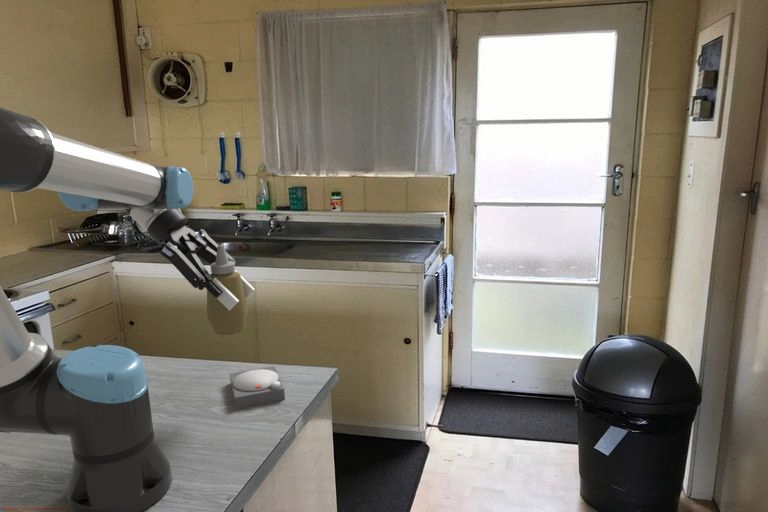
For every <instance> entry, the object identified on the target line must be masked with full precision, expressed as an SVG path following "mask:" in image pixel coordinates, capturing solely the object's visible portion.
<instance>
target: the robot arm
mask: <svg viewBox="0 0 768 512" xmlns="http://www.w3.org/2000/svg"><path fill="white" fill-rule="evenodd" d="M190 173H191V172H189V171H188V169H186V168H185V167H182V166H172V165H168V166H160V165H159V166H158V165H157V164H156V165H155V164H152V163H147V162H144V161H141V160H138V159H136V158H132V157H129V156H126V155H123V154H122V153H117V152H113V151H110V150H107V149H104V148H100V147H98V146H94V145H91V144H88V143H85V142H82V141H78V140H76V139H72V138H69V137H66V136H63V135H60V134H57V133H54V132H51V131H49V129H48V128H47V126H45V124H43V123H42V122H41V121H39V120H38V119H35V118H33V117H31V116H27V115H25V114H22V113H19V112H16V111H13V110H10V109H7V108H5V107H0V191H5V192H10V193H18V194H19V193H21V194H23V193H28V192H31V191H34V190H35V189H41V190H47V191H53V192H54V191H55V192H58V197H59V200H60V201H61V203H62V204H63V205H64V206H65V207H66V208H67V209H70V210H71V211H74V212H92V211H94V210H124V211H125V212H126V213H127V214H128V215H129V216H130V217H132V219H133V220H134V221H135V222H136V223H137V224H138V225H139V226H140V227H141V228H142V229H143V230H147V231H146V232H147V234H148V235H149V237H151V238H152V239H153V240H154V241H155V242H156V243H157V244H159V245H165V246H164V247H163V248H162V249H161V250H160V252H159V253H160V255H161V256H162V257H164V258H165V259H167V260H168V261H169V262H170V263H171V264H172V265H173V266H174V267H175V269H176V270H178V271H179V273H180V274H181V275H182V276H183V277H184V279H186V281H187V282H189V284H190V285H191V286H192V287H193V288H194V289H198V290H199V291H203V290H204V289H206V291H207V290H208V291H209V292H210V293H211V294H212V295H213V296H214V297H216V298H217V299H218V300H219V301H220V302H221V303H222V304H223V305H224V306H225V307H226V308H227V309H228V310H229V311H230V310H231V309H232V308H233V307H234V306H235V305H236V304H237V303H238V302H239V300H238V299H237V298H236V297H235V296H234V295H233V294H232V293H231V292H230V291H229V290H228V289H227V288H226V287H225V286H224V285H223V284H222V283H221V282H220V281H219V280H218V279H217V278H216V277H215V278H214V279H213V280H212V277H211V276H210V274H211V273H209V271H208V270H207V268H206V267H205V265H204V263H202V260H204V261H205V262H207V263H208V264H210V265H211V264H212V263H214V262H216V255H217V247H218V246H220V244H218V243H217V242H216V241H215V240H214V239H212V238H211V237H210V235H208V233H207V232H206V231H205V230H204V229H202V228H200V230H198V231H194V229H192V228H190V227H189V226H188V218H187V216H186V215H185V214H184V213H182V211H181V210H179V209H184V208H187V207H188V206H189V205H190V204H191V203H192V201H193V197H194V182H193V178H192V176H191V174H190ZM226 254H227V257H228V260H229V261H232V262H234V263H235V265H236V264H237V263H236V260H235V258H234V257H232V256H231V255H230V254H229V253H228V252H227V251H226ZM200 258H201V259H202V260H201V259H200ZM235 271H236V272H238V270H236V269H235ZM240 276H241V281H242V286H243V291H244V296H245V299H247V298H249V296H251V294H252V293H253V292H254V291H255V290H256V289H255V288H254V287H253V285H252V284H251V283H250V282H249V281H247V280H246V278H244V277H243V276H242V274H240ZM149 393H150V392H149V378H148V376H147V374H146V369H145V365H144V361H143V360H142V357H141V356H140V355H139V353H137V352H135V351H134V350H132V349H131V348H127V347H125V346H119V345H112V344H99V345H97V346H85V347H81V348H78V349H75V350H72V351H70V352H68V353H67V354H65V355H64V356H62V357H59V356H57V355H56V354H55V353H54V351H53V350H52V348H51V346H50V345H49V343H48V341H47V339H46V338H45V337H44V336H42V335H41V334H39V333H34V332H29V331H28V330H27V328H26V327H25V324H24V323H23V321H22V320H21V318H20V316H19V314H18V313H17V312H16V309H15V308H14V307H13V305H12V303H11V301H10V300H9V298H8V296H7V295H6V293H5V290H3V288H2V286H1V285H0V433H8V434H10V433H25V434H42V435H55V436H56V435H57V436H68V437H69V439H70V444H71V449H72V456H73V461H72V466H71V470H70V471H71V472H70V477H69V482H68V486H67V493H66V494H67V495H66V497H67V498H66V499H67V502H68V507H69V511H70V512H142V511H144V510H146V509H148V508H150V507H151V506H153V505H154V504H156V503H157V502H158V501H159V500H161V499H162V498H163V497H164V496H165V495H166V493H167V492H168V490H170V487H171V484H172V481H173V477H172V476H173V475H172V469H171V468H172V467H171V464H170V461H169V459H168V458H167V455H166V454H165V452H164V450H163V449H162V448H161V446H160V444H159V442H158V441H157V439H156V437H155V432H154V431H155V430H154V423H153V416H152V415H153V414H152V407H151V402H150V394H149Z"/></svg>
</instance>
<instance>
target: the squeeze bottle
mask: <svg viewBox="0 0 768 512" xmlns="http://www.w3.org/2000/svg"><path fill="white" fill-rule="evenodd" d="M226 252H227V251H226V248H225V245H223V244H221V245H220V244H219V246H218V247H217V255H216V262H214V263H212V264H210V265H209V266H210V272H211V273H209V274H210V276H211V277H212V280H213V279H214V278H215V277H216V278H217V279H218V280H219V281H220V282H221V283H222V284H223V285H224V286H225V287H226V288H227V289H228V290H229V291H230V292H231V293H232V294H233V295H234V296H235V297H236V298H237V299H238V300H239V302H238V303H237V304H236V305H235V306H234V307H233V308H232V309H231V310H230V311H229V310H228V309H227V308H226V307H225V306H224V305H223V304H222V303H221V302H220V301H219V300H218V299H217V298H216V297H214V296H213V295H212V294H211V293H210V292H209V291H208V290H207V289H206V317H207V319H208V321H209V323H210V325H211V327H212V329H213V332H214V334H216V335H220V336H228V335H229V336H230V335H235V334H238V333H240V332H242V331H243V330H244V328H245V324H246V321H247V317H248V313H249V312H248V306H247V302H246V298H245V296H244V291H243V286H242V281H241V276H242V275H241V274H240V273H239V271H237V270H236V268H235V267H236V266H235V265H236V264H235V263H236V262H235V263H234V262H232V261H229V260H228V257H227V254H226ZM235 270H236V271H237V272H236V271H235ZM240 275H241V276H240Z"/></svg>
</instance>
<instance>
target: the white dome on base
mask: <svg viewBox="0 0 768 512" xmlns="http://www.w3.org/2000/svg"><path fill="white" fill-rule="evenodd" d="M229 379H230V387H231V391H232V396H233V400H234V405H235V409H240V408H245V407H251V406H255V405H256V406H257V405H261V404H265V403H271V402H277V401H280V400H281V401H282V400H285V399H286V397H285V396H286V395H285V387H284V386H283V383H282V380H281V377H280V376H279V373H278V371H277V369H276V366H275V365H272V366H265V367H260V368H255V369H253V368H252V369H248V370H242V371H236V372H231V373H229Z"/></svg>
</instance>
